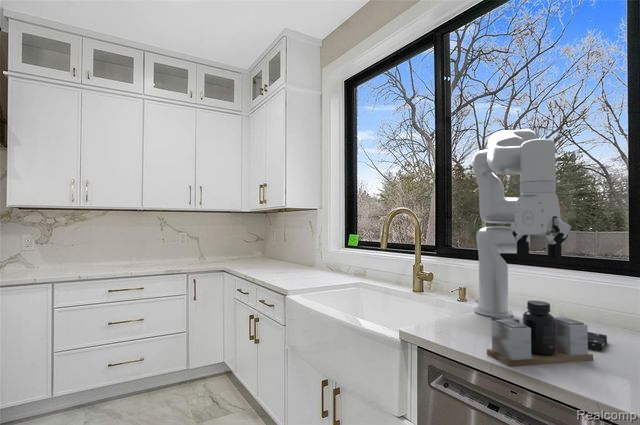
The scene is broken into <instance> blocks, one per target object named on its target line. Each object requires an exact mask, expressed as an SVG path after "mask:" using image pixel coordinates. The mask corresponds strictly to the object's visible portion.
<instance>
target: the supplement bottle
mask: <svg viewBox="0 0 640 425" xmlns="http://www.w3.org/2000/svg"><path fill="white" fill-rule="evenodd" d="M526 303H527V304H526V305H527V307H526V310H527V311H524V313H523V314H522V324H523V325H526V326H527V327H529V328H531V353H532V354H535V355H540V356H552V355H554V353H555V319H554V317H555V316H553V314H551V312H552V311H551V310H552V309H551V304H550V303H549V302H547V301H543V300H542V301H541V300H527V302H526Z"/></svg>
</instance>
